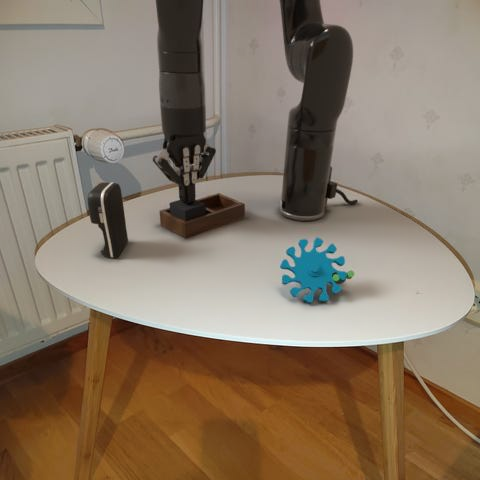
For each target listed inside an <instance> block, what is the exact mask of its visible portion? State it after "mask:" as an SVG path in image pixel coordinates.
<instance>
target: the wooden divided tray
mask: <svg viewBox="0 0 480 480" xmlns="http://www.w3.org/2000/svg"><path fill="white" fill-rule="evenodd" d="M196 200H198V201H200V202H202V203H204V204H206V215H204V216H201V217H198V218H195V219H192V220H189V221H186V222H185V221H184V220H182V219H180V218H178V217H176V216H174V215H172V214H170V207H167V208H165V209H160V210H159V221H160V226H161V227H163V228H164V229H165V230H168V231H170V232H172V233H173V234H175V235H177V236H179V237H180V238H183V239H185V240H188V239H190V238H193V237H196V236H199V235H201V234H204V233H206V232H210V231H213V230H216V229H218V228H221V227H224V226H227V225H229V224H231V223H235V222H237V221H241V220H242V219H245V217H246V215H245V214H246V204H245V203H244V202H242V201H239V200H237V199H234V198H233V197H229V196H227V195H225V194H222V193H220V192H218V193H214V194H211V195H207V196H205V197H200V198H198V199H196Z"/></svg>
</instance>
